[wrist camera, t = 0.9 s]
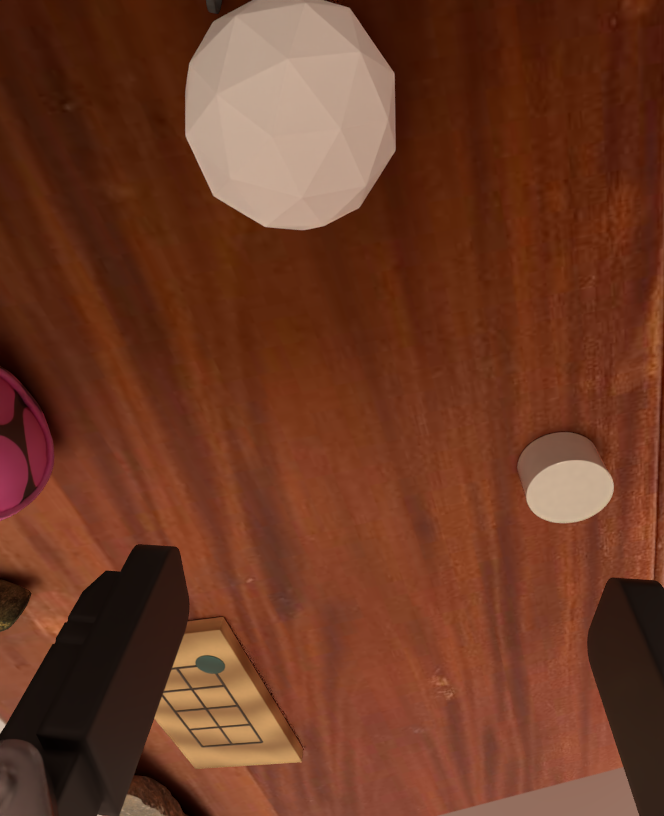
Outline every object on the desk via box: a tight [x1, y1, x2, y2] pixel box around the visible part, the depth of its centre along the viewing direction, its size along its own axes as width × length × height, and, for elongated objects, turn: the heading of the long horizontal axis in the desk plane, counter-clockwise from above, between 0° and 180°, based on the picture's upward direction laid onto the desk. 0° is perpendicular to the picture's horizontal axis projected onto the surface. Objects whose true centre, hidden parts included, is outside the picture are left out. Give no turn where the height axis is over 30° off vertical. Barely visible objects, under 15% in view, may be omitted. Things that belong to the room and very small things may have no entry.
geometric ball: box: [185, 0, 396, 230], centre depth 21 cm, size 8×8×8 cm
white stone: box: [517, 432, 614, 523], centre depth 32 cm, size 5×5×3 cm
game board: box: [154, 617, 303, 769], centre depth 49 cm, size 20×11×1 cm, turn 17°
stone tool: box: [119, 775, 188, 816], centre depth 60 cm, size 13×5×25 cm
